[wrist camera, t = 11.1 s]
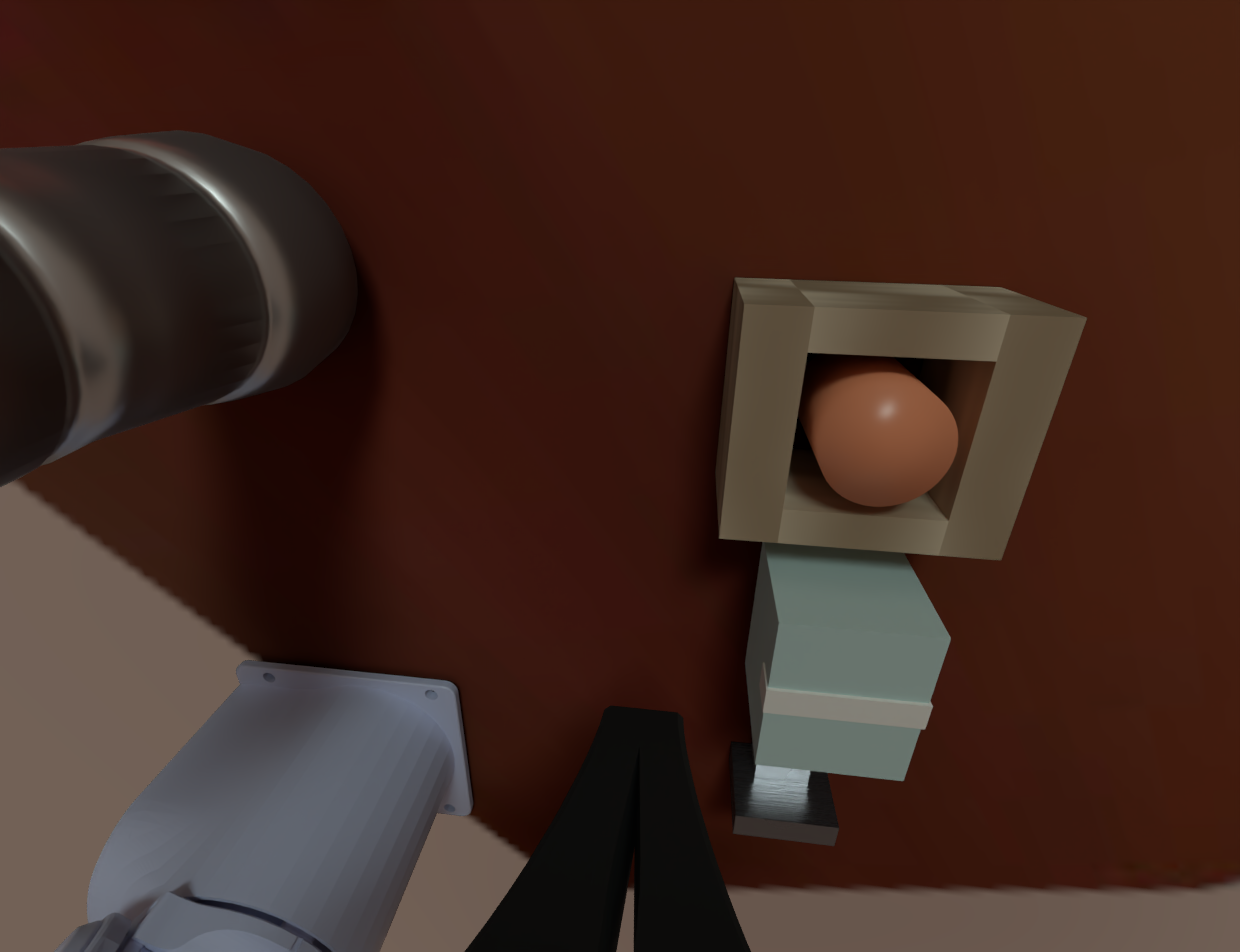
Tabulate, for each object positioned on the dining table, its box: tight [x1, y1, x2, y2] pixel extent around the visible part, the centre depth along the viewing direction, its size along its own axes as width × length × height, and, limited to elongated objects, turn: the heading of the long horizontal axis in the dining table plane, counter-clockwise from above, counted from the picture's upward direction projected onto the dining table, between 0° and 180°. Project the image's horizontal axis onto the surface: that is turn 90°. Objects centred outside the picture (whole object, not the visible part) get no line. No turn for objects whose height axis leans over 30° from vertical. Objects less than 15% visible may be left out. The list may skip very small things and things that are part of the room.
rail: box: [729, 740, 839, 846], centre depth 21 cm, size 4×13×3 cm, turn 179°
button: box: [798, 353, 958, 507], centre depth 16 cm, size 3×3×4 cm
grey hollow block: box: [715, 278, 1087, 560], centre depth 16 cm, size 7×6×4 cm
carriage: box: [745, 542, 951, 781], centre depth 17 cm, size 4×5×4 cm
